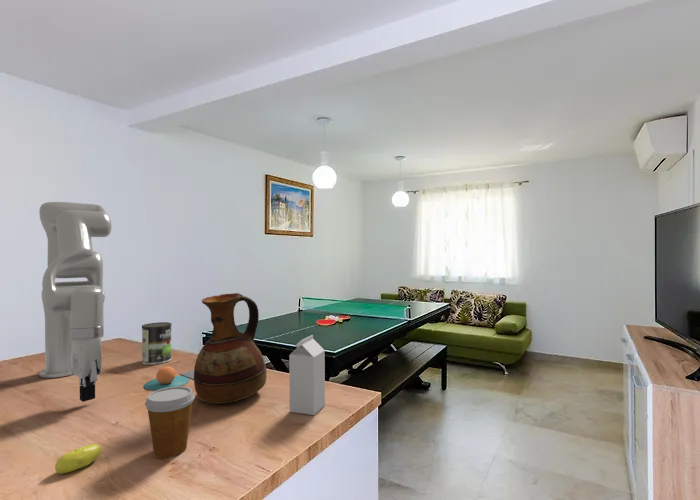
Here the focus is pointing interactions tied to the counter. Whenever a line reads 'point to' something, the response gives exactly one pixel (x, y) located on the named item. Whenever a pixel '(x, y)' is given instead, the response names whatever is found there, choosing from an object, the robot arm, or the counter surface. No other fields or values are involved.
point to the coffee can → (156, 343)
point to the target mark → (156, 385)
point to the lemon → (77, 458)
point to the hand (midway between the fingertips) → (87, 399)
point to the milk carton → (307, 377)
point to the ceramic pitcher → (229, 354)
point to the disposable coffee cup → (169, 419)
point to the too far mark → (189, 374)
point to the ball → (165, 375)
